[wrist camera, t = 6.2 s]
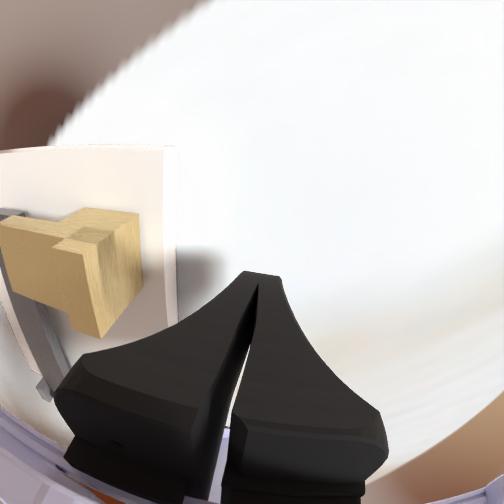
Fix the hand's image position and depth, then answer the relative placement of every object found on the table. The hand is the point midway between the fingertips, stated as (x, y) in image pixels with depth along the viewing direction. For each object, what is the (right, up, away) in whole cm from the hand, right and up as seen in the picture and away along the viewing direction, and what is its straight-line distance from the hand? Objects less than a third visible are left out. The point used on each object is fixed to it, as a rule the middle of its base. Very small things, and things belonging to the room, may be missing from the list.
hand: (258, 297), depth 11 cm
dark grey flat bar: (-14, -3, +5) cm, 16 cm away
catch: (-8, +2, +2) cm, 9 cm away
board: (-12, -1, +7) cm, 14 cm away
